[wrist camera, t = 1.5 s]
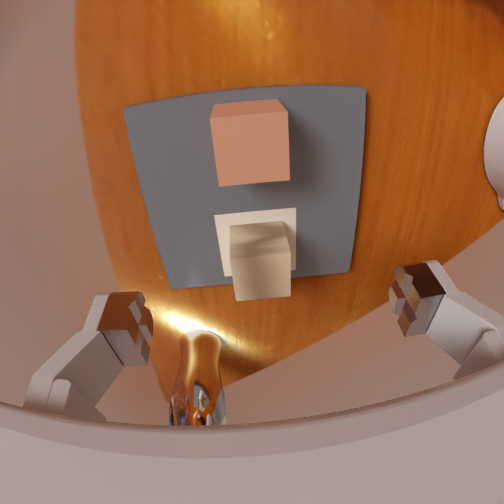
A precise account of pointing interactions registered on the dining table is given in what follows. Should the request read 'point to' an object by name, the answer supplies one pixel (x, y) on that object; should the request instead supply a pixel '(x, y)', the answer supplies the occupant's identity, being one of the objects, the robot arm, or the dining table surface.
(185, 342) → the beer glass
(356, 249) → the dining table surface
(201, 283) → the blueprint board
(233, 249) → the maple block
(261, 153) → the terracotta block
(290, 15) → the dining table surface
